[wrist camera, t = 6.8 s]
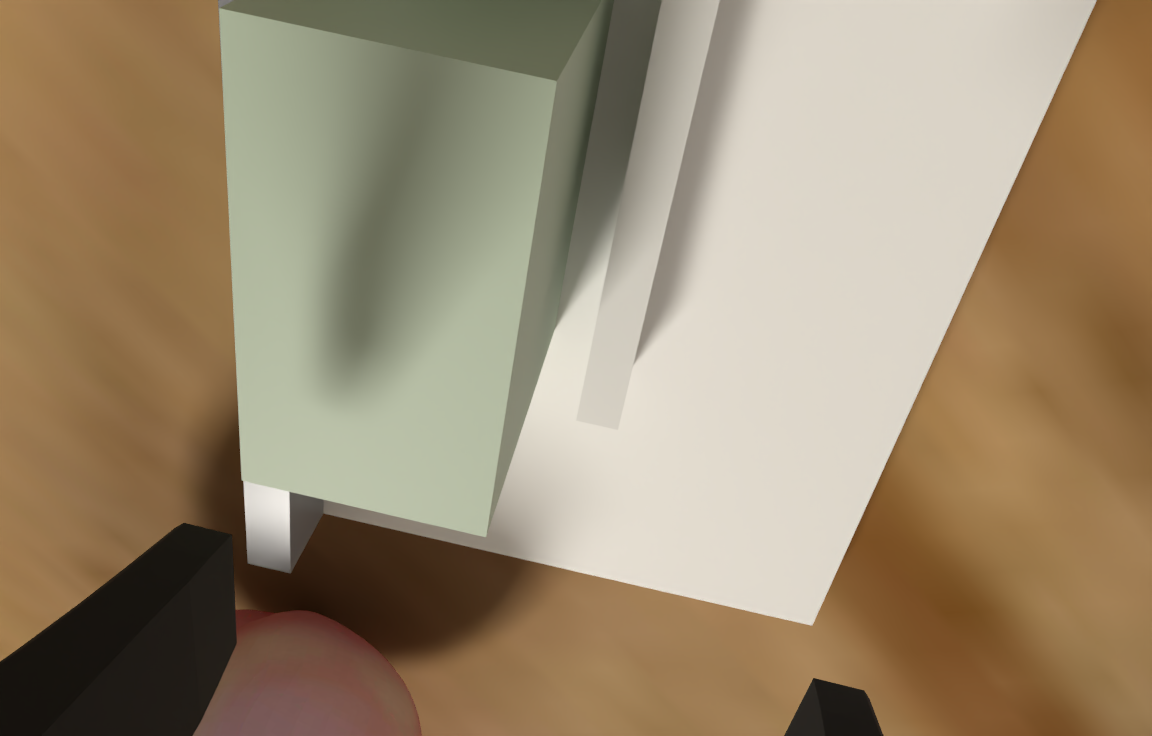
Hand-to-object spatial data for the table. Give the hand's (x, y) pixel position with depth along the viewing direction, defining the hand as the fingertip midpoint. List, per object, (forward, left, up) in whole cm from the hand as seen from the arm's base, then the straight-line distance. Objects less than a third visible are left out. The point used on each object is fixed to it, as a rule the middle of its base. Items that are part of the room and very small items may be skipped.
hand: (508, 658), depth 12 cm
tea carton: (+3, -3, -9) cm, 9 cm away
